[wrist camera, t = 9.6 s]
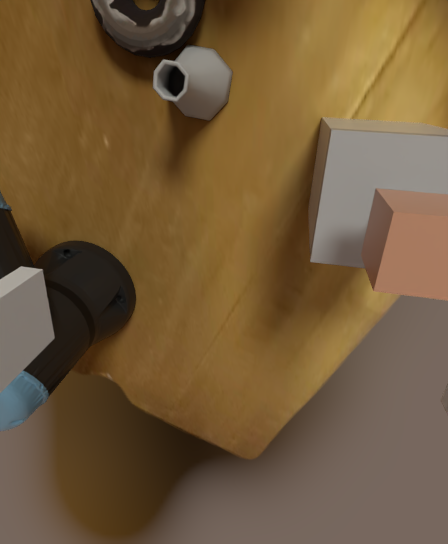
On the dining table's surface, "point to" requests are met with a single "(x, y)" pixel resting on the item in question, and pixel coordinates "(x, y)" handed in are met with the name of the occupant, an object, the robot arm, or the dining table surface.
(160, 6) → the donut
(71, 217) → the dining table surface
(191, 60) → the flask
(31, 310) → the robot arm
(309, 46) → the dining table surface
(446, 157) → the slotted white box
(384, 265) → the pump plunger
